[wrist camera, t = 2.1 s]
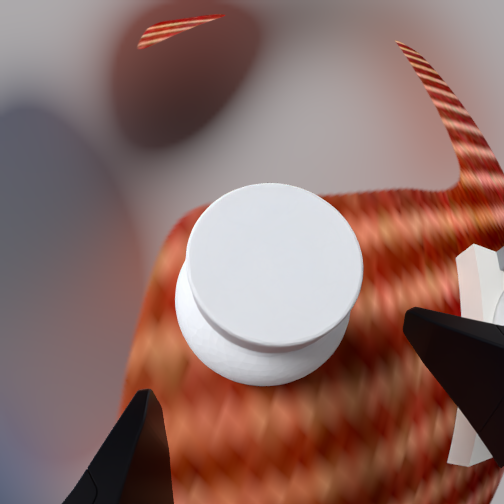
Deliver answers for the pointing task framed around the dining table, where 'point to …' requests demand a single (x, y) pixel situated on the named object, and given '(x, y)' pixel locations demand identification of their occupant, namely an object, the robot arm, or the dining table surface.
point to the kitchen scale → (482, 309)
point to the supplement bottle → (268, 284)
